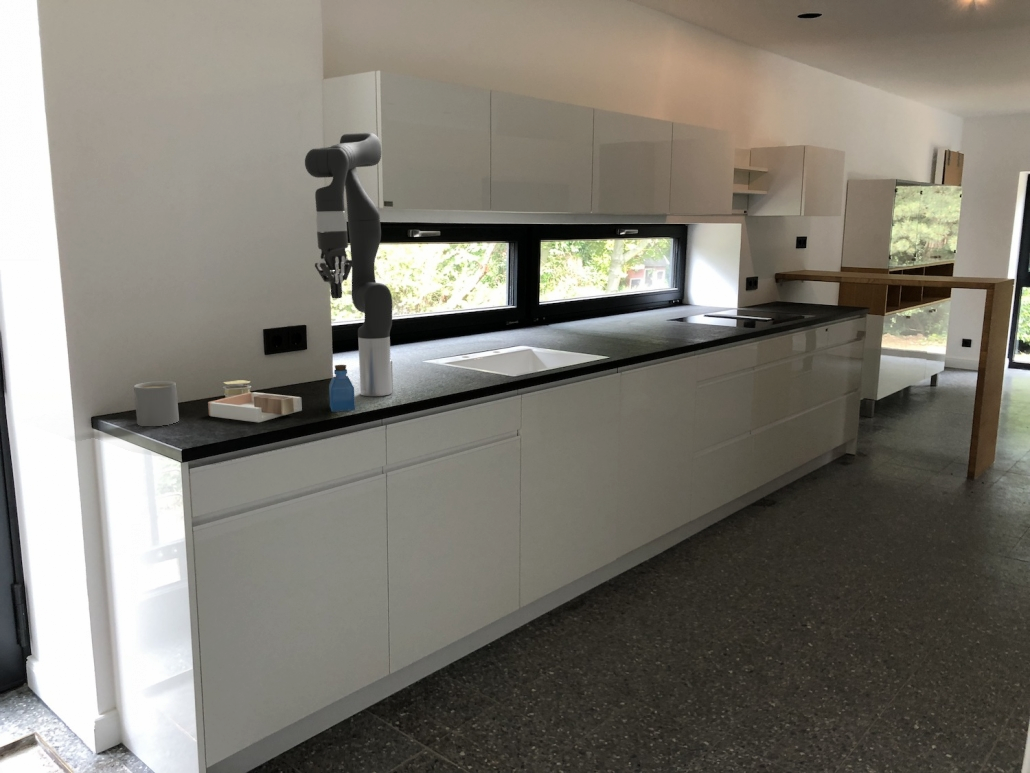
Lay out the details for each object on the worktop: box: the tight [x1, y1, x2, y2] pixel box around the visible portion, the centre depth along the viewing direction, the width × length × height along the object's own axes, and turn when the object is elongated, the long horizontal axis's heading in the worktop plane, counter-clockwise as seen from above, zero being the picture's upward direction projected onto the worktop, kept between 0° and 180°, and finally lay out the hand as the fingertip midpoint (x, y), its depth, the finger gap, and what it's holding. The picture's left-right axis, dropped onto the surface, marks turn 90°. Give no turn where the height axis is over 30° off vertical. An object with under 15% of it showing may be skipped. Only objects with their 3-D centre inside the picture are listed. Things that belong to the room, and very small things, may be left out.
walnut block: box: [254, 393, 295, 416], centre depth 225 cm, size 4×4×10 cm
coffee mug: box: [133, 380, 180, 427], centre depth 219 cm, size 13×10×10 cm
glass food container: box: [223, 379, 252, 398], centre depth 247 cm, size 10×9×6 cm
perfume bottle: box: [328, 364, 356, 413], centre depth 233 cm, size 6×6×12 cm
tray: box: [207, 391, 303, 423], centre depth 229 cm, size 16×18×4 cm
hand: (336, 298), depth 218 cm, fingers closed
